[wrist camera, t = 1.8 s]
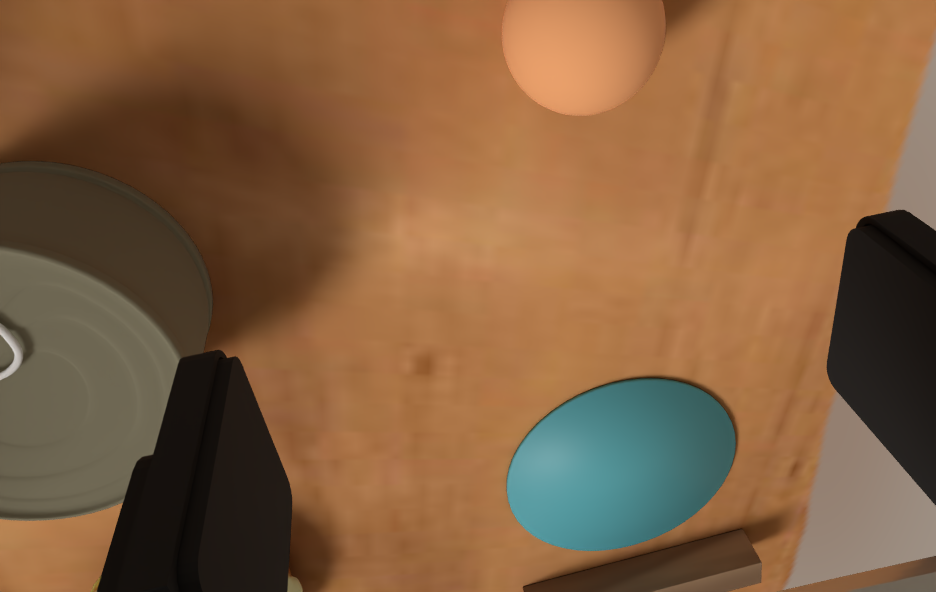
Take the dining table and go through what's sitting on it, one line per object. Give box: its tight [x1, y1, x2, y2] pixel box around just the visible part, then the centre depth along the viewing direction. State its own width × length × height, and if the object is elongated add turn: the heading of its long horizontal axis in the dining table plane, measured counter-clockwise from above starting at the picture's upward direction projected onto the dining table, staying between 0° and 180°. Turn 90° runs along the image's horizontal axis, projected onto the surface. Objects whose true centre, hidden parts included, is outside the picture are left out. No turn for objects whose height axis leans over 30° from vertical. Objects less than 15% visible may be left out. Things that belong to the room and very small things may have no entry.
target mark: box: [507, 378, 736, 551], centre depth 42 cm, size 13×13×1 cm
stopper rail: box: [523, 529, 762, 592], centre depth 46 cm, size 2×14×2 cm, turn 102°
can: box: [0, 161, 213, 521], centre depth 28 cm, size 12×12×7 cm
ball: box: [502, 0, 666, 116], centre depth 26 cm, size 6×6×6 cm
